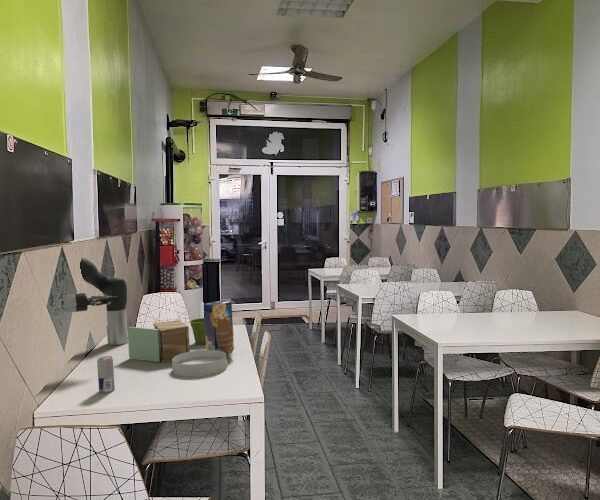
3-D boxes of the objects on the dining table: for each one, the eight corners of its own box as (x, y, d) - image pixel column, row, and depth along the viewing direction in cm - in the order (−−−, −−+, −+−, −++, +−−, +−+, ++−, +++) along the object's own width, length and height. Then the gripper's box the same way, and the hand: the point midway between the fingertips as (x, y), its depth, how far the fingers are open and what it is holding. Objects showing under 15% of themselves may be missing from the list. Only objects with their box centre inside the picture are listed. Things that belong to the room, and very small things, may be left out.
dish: (180, 380, 193) (179, 368, 193) (166, 367, 213) (165, 355, 212) (235, 370, 203) (234, 358, 203) (217, 358, 223) (216, 347, 222)
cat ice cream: (236, 357, 222) (234, 316, 221) (218, 359, 219) (216, 318, 218) (232, 352, 230) (230, 313, 229) (215, 354, 228) (213, 315, 227)
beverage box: (234, 348, 238) (231, 301, 236) (215, 353, 230) (212, 305, 228) (224, 346, 242) (222, 300, 241) (206, 351, 234) (203, 304, 233)
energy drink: (101, 388, 187) (99, 356, 186) (116, 387, 187) (114, 355, 186) (97, 393, 181) (94, 360, 181) (112, 392, 182) (110, 359, 181)
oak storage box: (155, 353, 235) (153, 323, 234) (181, 349, 240) (179, 319, 239) (162, 362, 219) (160, 330, 218) (190, 357, 224) (188, 326, 223)
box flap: (162, 361, 219) (160, 329, 218) (160, 362, 218) (158, 330, 217) (130, 357, 228) (129, 326, 227) (129, 357, 227) (127, 327, 226)
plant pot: (212, 338, 260) (211, 316, 259) (216, 343, 248) (215, 320, 248) (189, 341, 256) (187, 319, 255) (191, 346, 245) (190, 323, 244)
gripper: (74, 309, 219) (116, 305, 227) (76, 314, 207) (120, 309, 215) (73, 292, 218) (115, 288, 226) (74, 295, 207) (119, 291, 214)
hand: (118, 298), depth 220 cm, fingers closed
